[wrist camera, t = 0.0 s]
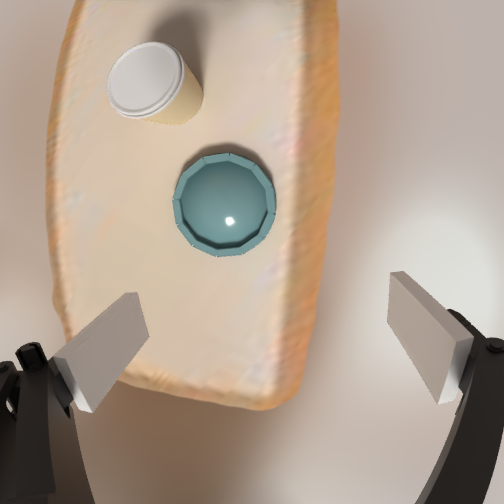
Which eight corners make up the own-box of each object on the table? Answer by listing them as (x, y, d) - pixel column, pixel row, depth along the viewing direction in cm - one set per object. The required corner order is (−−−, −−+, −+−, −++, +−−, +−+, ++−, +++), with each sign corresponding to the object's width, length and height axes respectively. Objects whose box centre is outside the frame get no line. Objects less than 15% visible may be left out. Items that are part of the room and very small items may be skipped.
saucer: (170, 162, 39) (165, 162, 37) (270, 147, 37) (269, 146, 35) (184, 258, 42) (180, 261, 40) (281, 249, 40) (281, 252, 39)
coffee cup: (174, 61, 35) (139, 28, 23) (222, 90, 35) (200, 59, 24) (136, 111, 37) (90, 94, 25) (181, 143, 38) (144, 133, 26)
